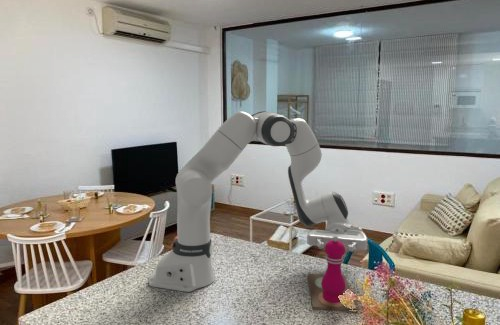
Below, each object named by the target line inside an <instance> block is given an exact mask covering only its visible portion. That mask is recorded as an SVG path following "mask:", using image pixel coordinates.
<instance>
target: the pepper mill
mask: <svg viewBox="0 0 500 325" xmlns="http://www.w3.org/2000/svg"><path fill="white" fill-rule="evenodd" d="M332 239H333V240H331V241H329V242H327V244H326V245H325V246H324V252H325V254H326V255H325V256H326V257H325V260H326V261H327V268H326V271H325V273H324V274H325V275H324V276H323V279H322V283H321V285H322V288H323V289H324V290H323V299H324V300H326V301H328V302H331V303H339V302H340V300H339V298H338V296H339V295H343V291H344V290H345V280H344V278H343V273H342V269H341V268H342V263H343V262H344V257H343V256H344V255H345V253H346V249H345V247H344V245H343V243H342V242H340V241H338V237H337V236H334V237H333V238H332Z"/></svg>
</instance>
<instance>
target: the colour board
mask: <svg viewBox="0 0 500 325" xmlns="http://www.w3.org/2000/svg"><path fill="white" fill-rule="evenodd" d="M324 275H325V273H324V274H321V273H307V276H306V277H307V281H308V282H307V283H308V289H309V296H310V301H311V307H312V308H311V309H312V311H326V312H327V311H328V312H330V311H331V312H345V311H349V310H352V309H350V308H347V307H345V306H344V305H343V304H341V302H339V303H331V302H328V301H326V300H324V299H323V290H324V289H323V288H322V285H321V283H322V279H323V276H324ZM342 275H343V274H342ZM343 278H344V280H345V290H344V291H343V293H345V291H346V290H347V289H350V286H349V285H350V284H349V283H348V281H347V278H346V275H345V274H344V275H343ZM350 290H351V289H350ZM353 310H357V311H358V308H354V309H353Z"/></svg>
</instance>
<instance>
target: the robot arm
mask: <svg viewBox="0 0 500 325" xmlns="http://www.w3.org/2000/svg"><path fill="white" fill-rule="evenodd" d="M254 140H259V142H261V143H263V144H265V145H268V146H271V147H281V146H285V147H286V150H287V152H288V154H289V156H290V165H289V166H288V168H287V174H288V180H289V184H290V188H291V189H290V190H291V193H292V196H293V199H294V204H295V207H296V214H297V219H298V221H299V222H300V224H301V225H304V226H306V227H309V228H310V227H313V226H316V225H318V224H321V223H323V222H326V224H325V230H323V229H311V230H310V231H308V232H307V235H306V244H307V245H309V246H315V247H318V249H321V250H325V245H326V244H327V242H329V241H331V240H333V239H332V238H333V237H334V236H337V237H338V241H340V242H342V243H343V245H344V247H345V250H347V249H348V252H349V253H350V252H351V253H353V252H354V251H357V250H358V251H367V250H368V236H367V235H366V233H365V232H364V231H363V227H360V226H355V225H351V224H350V221H349V218H348V216H349V210H348V206H347V204H346V201H345V199H344V198H343V196H342V195H340V194H339V193H337V192H335V191H330V192H327V193H325V194H322V195H320V196H319V195H318V196H317V197H313V198H310V199H308V198H307V199H306V196H305V192H304V190H303V184H302V182H303V181H304V179H305V178H306V177H307V176H308V175H309V174H311V173H312V172H313V171H315V170H316V168H317V167H318V166H319V165H320V162H321V160H322V157H323V156H322V155H323V154H322V150H321V146H320V144H319V142H318V139H317V137H316V135H315V133H314V132H313V130H312V128H311V126H310V125H309V124H308V122H307V121H306V120H305V119H303V118H300V117H298V118H291V119H289V118H288V117H286V116H285V115H282V114H278V113H277V112H273V111H259V112H256V113H253V114H251V113H248V112H246V111H243V110H239V111H236V112H234V113H233V114H232V115H230V117H228V118H227V119H226V120H225V121H224V122H223V123H222V124H221V125H220V126H219V127H218V129H216V131H215V132H214V133H213V135H212V136H211V137H210V138H209V139H208V140H207V142H206V143H205V144H204V145H203V147H202V148H201V149H200V150H199V151H198V152H197V153H196V154H195V155H193V156H192V158H190V159H189V160H188V161H187V163H186V164H185V165H184V166H182V168H181V169H180V170H179V171H178V173H177V174H176V177H175V186H176V194H177V197H176V198H177V202H176V203H177V205H176V206H177V208H176V209H177V210H176V211H177V213H176V214H177V215H176V226H177V229H176V231H177V232H176V233H177V236H175V237H174V238H173V241H172V242H171V246H170V248H171V251H169V252H168V253H166V254H165V255H164V256H162V257H161V259H159V261H158V262H157V263H156V264H157V265H156V268H155V270H154V271H153V272H152V273H151V275H150V276H149V278H148V285H149V286H150V287H153V288H161V289H166V290H173V291H179V292H186V293H190V292H193V291H195V290H196V289H201V288H204V287H207V286H209V285H211V284H212V283H213V282H214V281H215V279H216V276H215V273H214V269H213V268H214V267H213V264H212V253H213V250H212V249H213V248H212V247H213V246H212V245H213V244H212V239H211V211H212V195H213V185H212V183H213V182H214V181H215V180H216V179H217V178H218V177H219V176H220V175H221V174H222V173H224V172H225V171H227V170H228V169H229V168H230V167H231V166H232V164H233V163H234V162H235V161H236V160H237V158H238V157H239V156H240V155H241V153H242V152H243V151H244V150H245V148H247V146H248V145H249V144H250V143H251V142H252V141H254Z"/></svg>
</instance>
